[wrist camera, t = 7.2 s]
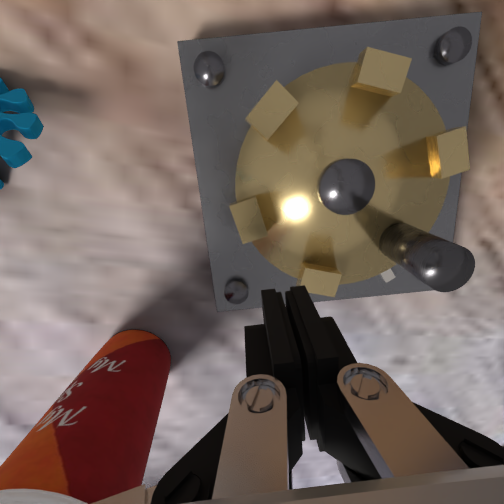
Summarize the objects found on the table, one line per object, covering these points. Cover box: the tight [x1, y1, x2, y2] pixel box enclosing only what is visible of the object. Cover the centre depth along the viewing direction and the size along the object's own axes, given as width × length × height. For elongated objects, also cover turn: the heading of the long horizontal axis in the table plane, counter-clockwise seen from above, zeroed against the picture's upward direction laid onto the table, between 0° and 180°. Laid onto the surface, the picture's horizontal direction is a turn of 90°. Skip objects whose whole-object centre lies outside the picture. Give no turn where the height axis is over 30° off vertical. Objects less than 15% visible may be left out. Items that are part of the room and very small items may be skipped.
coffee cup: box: [0, 330, 171, 504], centre depth 19 cm, size 8×8×15 cm
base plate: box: [177, 12, 482, 312], centre depth 21 cm, size 18×18×3 cm
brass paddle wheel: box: [229, 47, 475, 297], centre depth 16 cm, size 13×13×7 cm
